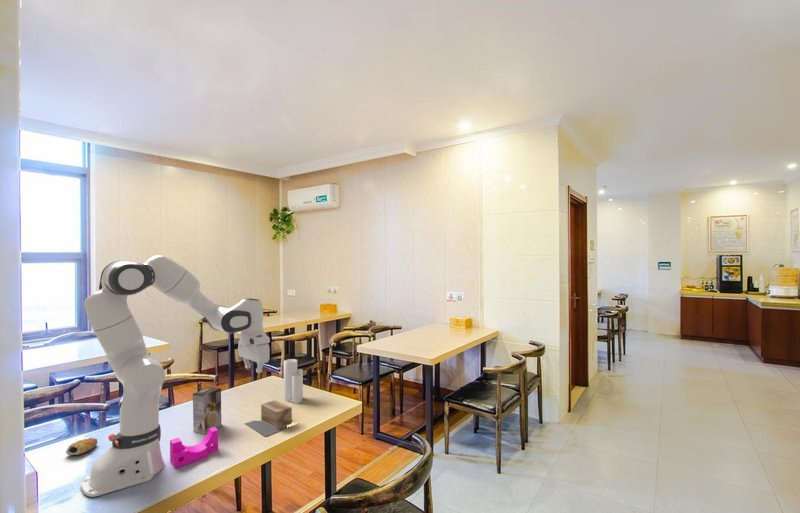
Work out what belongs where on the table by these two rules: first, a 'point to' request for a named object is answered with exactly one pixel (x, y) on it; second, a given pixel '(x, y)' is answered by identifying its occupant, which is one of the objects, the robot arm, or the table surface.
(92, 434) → the table surface
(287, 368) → the three-tube pen holder
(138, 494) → the table surface
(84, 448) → the pastry
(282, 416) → the wooden brick
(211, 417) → the coffee box
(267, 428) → the mat
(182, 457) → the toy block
